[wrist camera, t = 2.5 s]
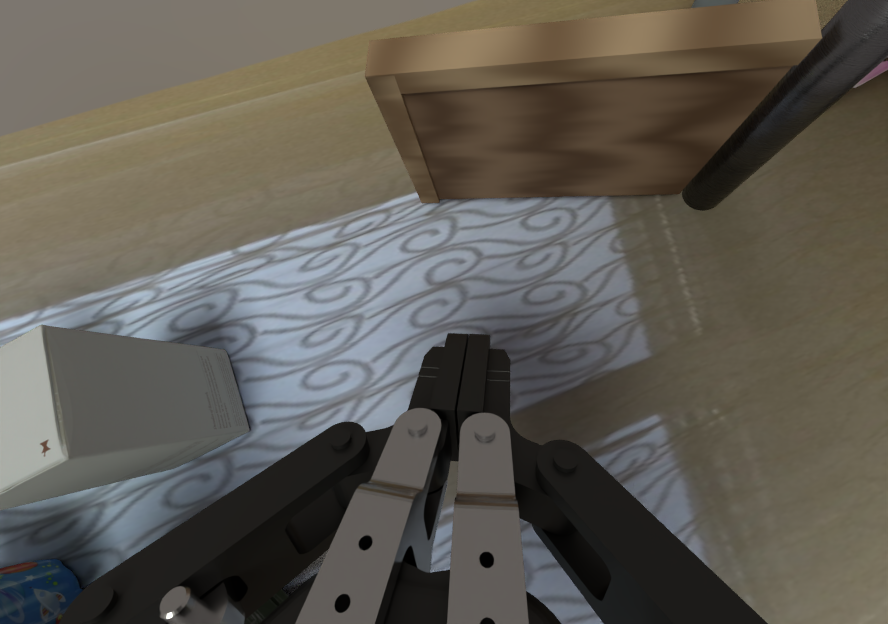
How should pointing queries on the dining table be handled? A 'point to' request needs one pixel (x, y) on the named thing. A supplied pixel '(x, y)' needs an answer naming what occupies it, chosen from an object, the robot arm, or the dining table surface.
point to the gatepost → (797, 99)
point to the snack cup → (36, 592)
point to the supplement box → (107, 410)
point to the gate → (582, 98)
